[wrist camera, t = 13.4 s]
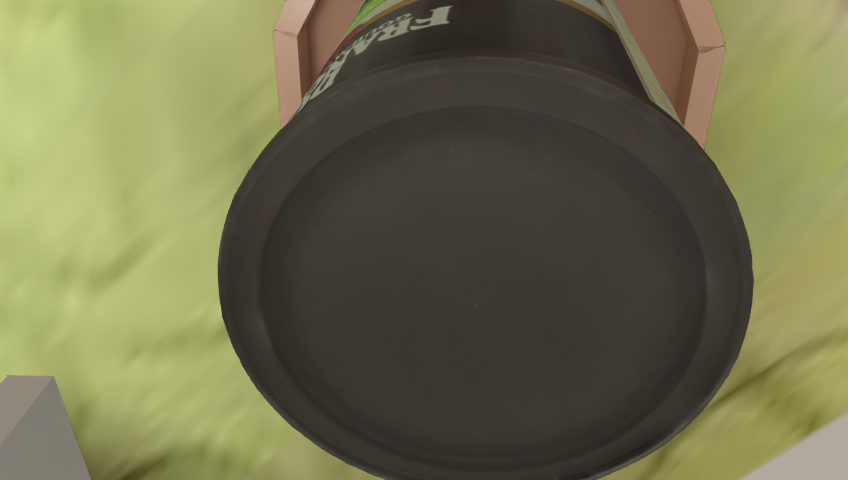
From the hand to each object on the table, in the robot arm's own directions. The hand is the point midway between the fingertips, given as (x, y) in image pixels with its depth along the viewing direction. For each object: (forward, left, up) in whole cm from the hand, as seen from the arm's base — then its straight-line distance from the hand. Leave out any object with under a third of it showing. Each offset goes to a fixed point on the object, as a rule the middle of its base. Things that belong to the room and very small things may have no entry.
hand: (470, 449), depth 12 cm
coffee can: (0, 0, -18) cm, 18 cm away
